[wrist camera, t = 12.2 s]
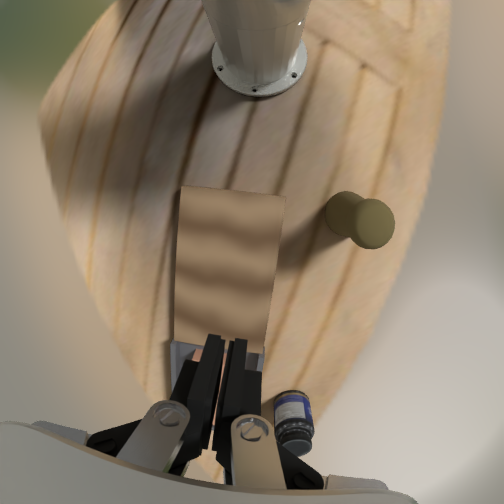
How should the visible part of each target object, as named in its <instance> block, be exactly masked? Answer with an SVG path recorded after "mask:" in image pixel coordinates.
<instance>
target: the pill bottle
mask: <svg viewBox="0 0 504 504" xmlns="http://www.w3.org/2000/svg"><path fill="white" fill-rule="evenodd" d="M274 435H275V439H276V440H277V441H278V442H279V443H280V444H281V445H282V446H284V447H285V448H286V449H287V450H289V451H290V452H291V453H293V454H294V455H295V456H297V457H299V456H302V455H305V454H307V453H308V452H310V450H311V449H312V442H311V439H312V437H313V435H314V425H313V419H312V414H311V408H310V402H309V398H308V397H307V396H306V395H305V394H304V393H303V392H301V391H297V390H290V391H286V392H283V393H281V394H280V395H278V396H277V398H276V399H275V402H274Z"/></svg>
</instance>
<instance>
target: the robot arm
mask: <svg viewBox="0 0 504 504" xmlns="http://www.w3.org/2000/svg"><path fill="white" fill-rule="evenodd" d="M201 1H202V3H203V6H204V9H205V12H206V14H207V17H208V19H209V22H210V25H211V27H212V30H213V33H214V36H215V38H216V42H215V44H214V47H213V50H212V64H213V67H214V70H215V72H216V74H217V76H218V78H219V79H220V80H221V81H222V82H223V83H224V84H225V85H226V86H227V87H229V88H230V89H232V90H234V91H236V92H238V93H240V94H244V95H247V96H254V97H267V96H272V95H276V94H279V93H282V92H284V91H286V90H288V89H289V88H291V87H292V86H293V85H295V84H296V83H297V82H298V81H299V79H300V78H301V77H302V75H303V73H304V71H305V68H306V65H307V57H308V56H307V49H306V47H305V44H304V42H303V40H302V39H301V36H302V32H303V28H304V24H305V21H306V17H307V13H308V9H309V5H310V2H311V0H201ZM221 69H223V70H222V71H220V70H221ZM292 76H295V78H292ZM253 90H256V92H253ZM225 342H226V340H225V339H221V335H215V334H210V333H209V334H208V336H207V339H206V342H205V345H204V348H203V351H202V355H201V358H200V361H199V362H198V361H193V360H188V359H186V360H185V361H184V363H183V366H182V368H181V371H180V374H179V376H178V379H177V381H176V384H175V386H174V389H173V391H172V394H171V397H170V399H169V400H164V401H159V402H157V403H155V404H154V405H153V406H152V407H151V408H150V409H149V410H148V412H147V413H146V415H145V416H144V418H143V419H140V420H137V421H134V422H131V423H128V424H124V425H121V426H118V427H115V428H111V429H108V430H104V431H100V432H97V433H95V434H93V435H91V434H88V433H87V431H83V430H78V429H74V428H70V427H65V426H61V425H57V424H54V423H50V422H46V421H37V422H34V423H33V424H27V423H21V422H15V421H5V422H0V504H418V503H417V501H415V500H414V499H413V498H411V497H410V496H408V495H406V494H403V493H399V492H395V491H390V490H388V487H387V486H386V484H385V483H383V482H381V481H379V480H375V479H363V478H353V477H344V476H336V475H329V476H328V477H327V476H321V475H320V474H319V473H318V472H317V471H316V470H314V469H313V468H312V467H310V466H309V465H307V464H306V463H305V462H303V461H302V460H301V459H299V458H298V457H297V456H295V455H294V454H293V453H291V452H290V451H289V450H287V449H286V448H285V447H284V446H282V445H281V444H280V443H278V442H277V441H276V439H275V435H274V430H273V427H272V425H271V424H270V423H269V421H268V420H266V419H265V418H263V417H261V383H262V372H261V371H253V370H246V369H245V362H246V353H247V343H248V340H247V339H240V338H235V341H231V340H230V341H229V346H228V351H227V356H226V361H225V366H224V371H223V376H222V381H221V374H222V366H223V358H224V350H225ZM220 382H221V386H220ZM219 389H220V391H219ZM218 395H219V396H218ZM217 400H218V401H217ZM216 405H217V408H216ZM215 410H216V416H215V425H214V434H213V443H212V451H217V454H216V460H217V461H218V462H219V463H220V464H221V465H222V466H223V467H224V469H223V475H224V484H218V483H212V482H206V481H200V480H195V479H189V478H185V477H184V475H185V473H186V471H187V468H188V466H189V463H190V460H192V459H195V458H197V457H199V455H200V456H201V453H202V449H206V450H207V449H208V445H209V440H210V435H211V430H212V425H213V420H214V415H215Z"/></svg>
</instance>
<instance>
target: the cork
mask: <svg viewBox="0 0 504 504" xmlns="http://www.w3.org/2000/svg"><path fill="white" fill-rule="evenodd" d="M325 218H326V222H327V224H328V226H329V228H330V229H331V230H332V231H333V232H335V233H336V234H338V235H341V236H345V237H350V238H351V239H352V241H354V242H355V243H356V244H357V245H358V246H360V247H362V248H365V249H377V248H380V247H382V246H384V245H385V244H386V243H388V241H389V240H390V239H391V237H392V235H393V232H394V228H395V220H394V215H393V213H392V211H391V210H390V208H389V207H388V206H387V205H386V204H385V203H384V202H381V201H379V200H377V199H364V198H362V197H361V196H359V195H358V194H355V193H353V192H349V191H343V192H340V193H337V194H336V195H334V196H333V197H332V198H331V199H330V200H329V202H328V203H327V206H326V209H325Z"/></svg>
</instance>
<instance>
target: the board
mask: <svg viewBox="0 0 504 504" xmlns="http://www.w3.org/2000/svg"><path fill="white" fill-rule="evenodd" d="M285 202H286V197H283V196H276V195H268V194H261V193H252V192H244V191H235V190H226V189H217V188H206V187H196V186H181V196H180V208H179V220H178V234H177V250H176V270H175V301H174V341H179V342H185V343H190V344H196V345H202V346H204V345H205V342H206V339H207V336H208V334H209V333H210V334H215V335H221V339H225V340H226V342H225V349H228V346H229V341H230V340H231V341H235V338H240V339H247V340H248V343H247V352H251V353H260V354H262V353H263V347H264V341H265V335H266V329H267V323H268V317H269V311H270V305H271V298H272V292H273V285H274V279H275V272H276V265H277V259H278V252H279V245H280V238H281V231H282V224H283V216H284V209H285Z"/></svg>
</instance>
